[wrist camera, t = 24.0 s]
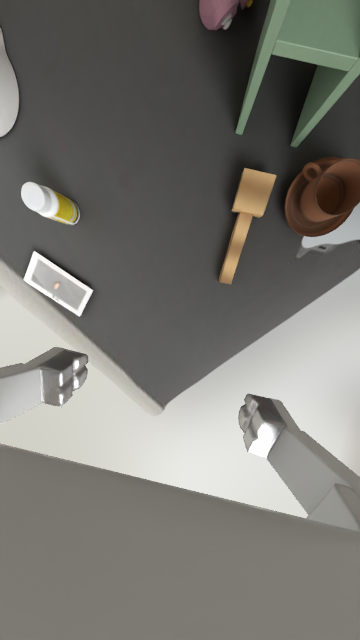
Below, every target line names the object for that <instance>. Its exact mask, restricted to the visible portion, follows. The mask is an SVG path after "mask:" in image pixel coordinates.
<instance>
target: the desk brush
mask: <svg viewBox="0 0 360 640" xmlns="http://www.w3.org/2000/svg"><path fill="white" fill-rule="evenodd" d="M275 178H276V175H273V174H269V173H265V172H260V171H256V170H252V169H248V168H244V170H243V172H242V175H241V179H240V182H239V186H238V189H237V193H236V197H235V200H234V204H233V207H232V213H236V214H238V215H237V219H236V222H235V226H234V229H233V232H232V236H231V239H230V243H229V246H228V249H227V253H226V256H225V260H224V263H223V266H222V270H221V273H220V277H219V280H218V281H219V282H223V283H227V284H231V282H232V279H233V276H234V273H235V270H236V266H237V263H238V260H239V257H240V254H241V251H242V248H243V245H244V241H245V238H246V235H247V232H248V229H249V226H250V223H251V220H252V217H253V218H257V217H259V218H260V217H261V216H262V215H263V214H264V211H265V208H266V205H267V202H268V199H269V196H270V193H271V190H272V187H273V184H274V181H275Z"/></svg>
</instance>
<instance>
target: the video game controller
mask: <svg viewBox="0 0 360 640" xmlns="http://www.w3.org/2000/svg"><path fill="white" fill-rule="evenodd" d="M252 2H253V0H240V3H241V9H242V10H243V9H244V8H245V7H246V6H247V8H248V7H250V6H251V4H252ZM238 4H239V0H200V2H199V12H200V18H201V21H202V23H203V25H204V26H205V27H206V28H207V29H209V30H214V29H215V30H217V29H219V28H220V27H222V28H223V29H227V28H228V27H229V26H230V24H231V21H232V19H233V17H234V16H235V14H236V12H237V6H238Z"/></svg>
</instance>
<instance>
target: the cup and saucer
mask: <svg viewBox="0 0 360 640" xmlns="http://www.w3.org/2000/svg"><path fill="white" fill-rule="evenodd" d="M359 202H360V161H359V160H357V159H354V158H346V159H342V158H339V157H325V158H321V159H318V160H316V161H314V162H312V163H308V164H306V165H305V166H304V168H303V170H302V171H301V172H300V173H299V174H298V175H297V176H296V177H295V179H294V180H293V182H292V183H291V185H290V187H289V189H288V192H287V195H286V198H285V204H284V211H285V217H286V220H287V222H288V224H289V226H290V227H291V228H292V229H293V230H294V231H295V232H296V233H298V234H300V235H303V236H308V237H317V236H321V235H325V234H327V233H329V232H331V231H333V230H335V229H336V228H338V227H339V226H340V225H341V224H342V223H343V222H344V221H345V220H346V219H347V218H348V217H349V215H350V214H351V212H352V211H353V209H354V207H355V206H356V205H357V204H358V203H359Z"/></svg>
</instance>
